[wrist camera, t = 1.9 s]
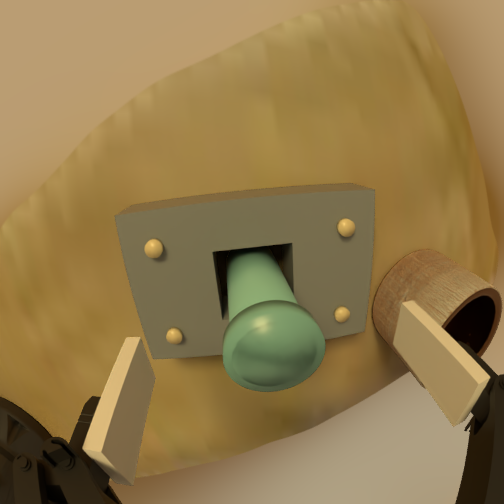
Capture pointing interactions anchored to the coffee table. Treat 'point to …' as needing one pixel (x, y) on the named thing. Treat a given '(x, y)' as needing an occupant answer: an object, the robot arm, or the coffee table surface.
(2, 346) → the coffee table surface
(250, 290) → the plug
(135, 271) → the grey socket block
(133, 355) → the robot arm
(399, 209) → the coffee table surface
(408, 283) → the planter
